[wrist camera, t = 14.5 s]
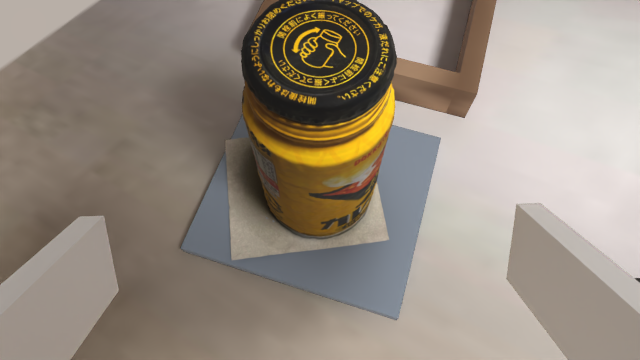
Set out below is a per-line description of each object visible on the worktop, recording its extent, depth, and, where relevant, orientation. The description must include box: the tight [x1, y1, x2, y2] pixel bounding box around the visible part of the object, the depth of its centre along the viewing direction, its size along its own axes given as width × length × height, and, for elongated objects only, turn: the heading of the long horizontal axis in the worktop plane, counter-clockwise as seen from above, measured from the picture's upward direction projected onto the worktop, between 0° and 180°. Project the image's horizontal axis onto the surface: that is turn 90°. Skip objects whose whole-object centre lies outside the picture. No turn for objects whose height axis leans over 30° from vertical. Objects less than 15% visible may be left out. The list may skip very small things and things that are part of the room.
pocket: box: [249, 0, 496, 118], centre depth 31 cm, size 14×13×2 cm
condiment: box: [225, 0, 397, 260], centre depth 20 cm, size 7×8×12 cm
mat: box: [181, 114, 441, 320], centre depth 26 cm, size 12×11×1 cm
